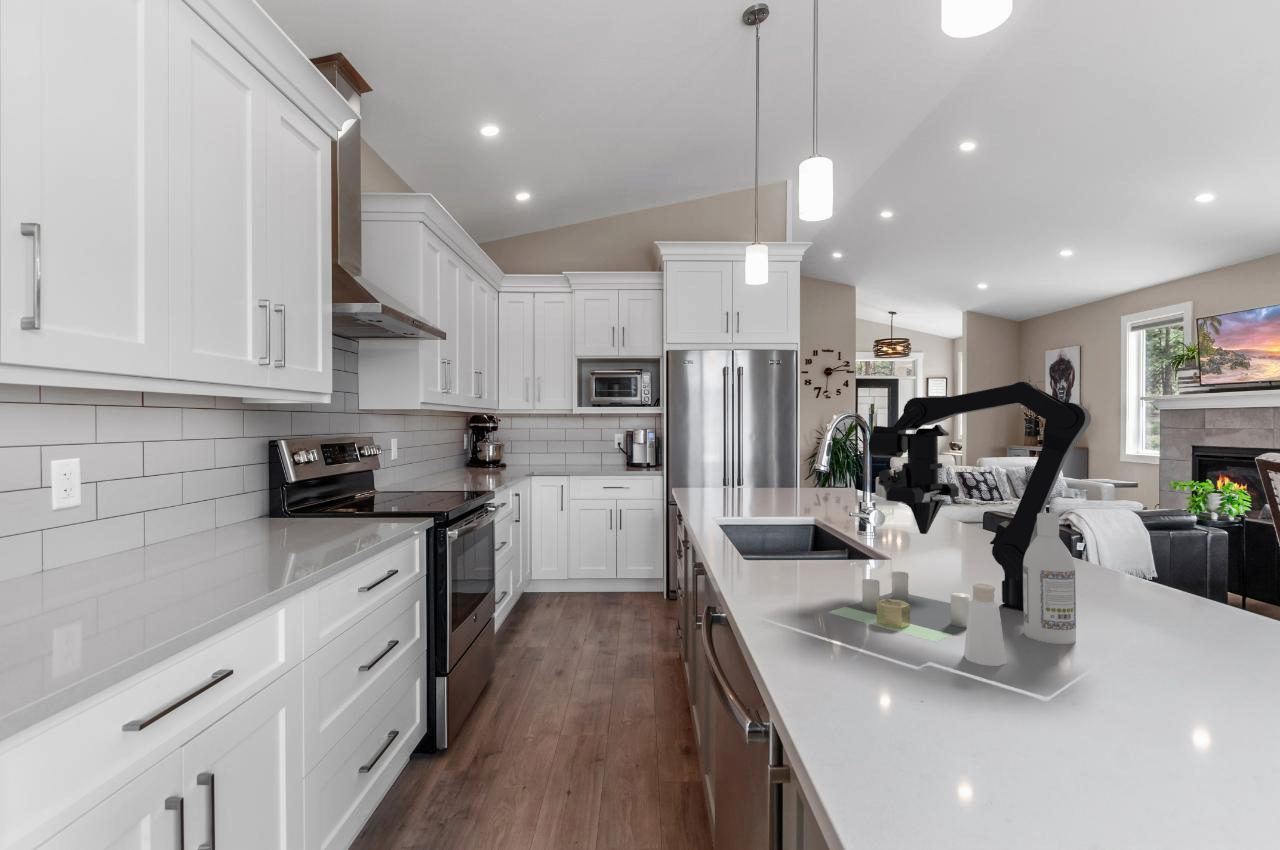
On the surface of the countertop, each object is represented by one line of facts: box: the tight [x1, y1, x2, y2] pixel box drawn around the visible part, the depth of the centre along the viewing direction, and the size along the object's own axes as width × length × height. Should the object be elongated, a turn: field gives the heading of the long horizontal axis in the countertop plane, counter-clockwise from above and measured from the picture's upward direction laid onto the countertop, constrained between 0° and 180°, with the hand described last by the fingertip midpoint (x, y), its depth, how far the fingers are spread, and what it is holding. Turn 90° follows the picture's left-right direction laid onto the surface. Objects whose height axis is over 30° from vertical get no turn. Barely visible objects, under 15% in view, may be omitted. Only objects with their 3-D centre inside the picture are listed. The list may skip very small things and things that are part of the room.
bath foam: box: [1023, 512, 1077, 645], centre depth 98 cm, size 7×7×20 cm
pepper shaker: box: [963, 583, 1007, 667], centre depth 89 cm, size 5×5×11 cm
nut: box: [876, 599, 910, 629], centre depth 105 cm, size 5×5×4 cm
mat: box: [827, 592, 967, 643], centre depth 111 cm, size 20×23×1 cm
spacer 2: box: [891, 570, 909, 601], centre depth 120 cm, size 3×3×5 cm
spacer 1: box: [861, 578, 881, 610], centre depth 114 cm, size 3×3×5 cm
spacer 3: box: [950, 592, 972, 628], centre depth 104 cm, size 3×3×5 cm
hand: (923, 533), depth 127 cm, fingers closed
